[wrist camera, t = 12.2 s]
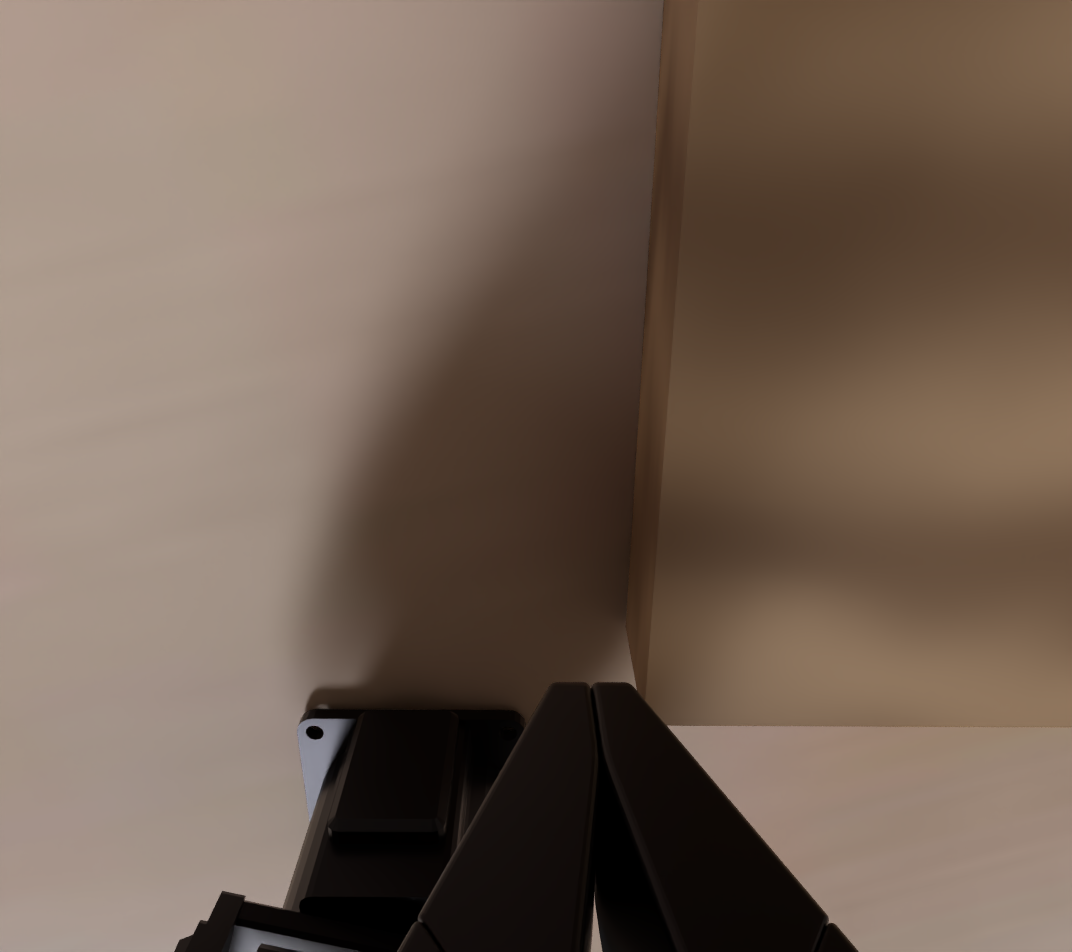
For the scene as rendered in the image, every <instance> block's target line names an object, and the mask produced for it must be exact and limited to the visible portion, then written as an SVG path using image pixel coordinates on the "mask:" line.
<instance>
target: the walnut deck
mask: <svg viewBox="0 0 1072 952" xmlns="http://www.w3.org/2000/svg"><path fill="white" fill-rule="evenodd" d="M626 631H627V636H628V642H629V648H630V653H631V659H632V664H633V670H634V676H635V681H636V687H637V691H638V693H639V694H640V695H641V696H642V697H643V699H644V700H645V701H646V702H647V703H648V704H649V706H650V707H651V708H652V709H653V710H654V712H655V713H656V714H657V715H658V716H659V717H660V719H661V720H662V721H663V722H664V723H665V724H666V725H671V726H879V727H1072V0H664V9H663V25H662V42H661V58H660V74H659V91H658V107H657V123H656V140H655V156H654V172H653V189H652V205H651V221H650V238H649V254H648V270H647V287H646V303H645V319H644V336H643V352H642V368H641V385H640V401H639V417H638V434H637V450H636V466H635V483H634V499H633V515H632V532H631V548H630V565H629V581H628V597H627V614H626Z"/></svg>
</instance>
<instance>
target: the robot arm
mask: <svg viewBox="0 0 1072 952" xmlns="http://www.w3.org/2000/svg"><path fill="white" fill-rule="evenodd" d="M311 726H318V727H320V728H321V729H322V730H315V729H313V728H312V727H311ZM503 727H513V728H514V730H512V731H505V730H503V729H502V728H503ZM297 735H298V742H299V749H300V756H301V764H302V771H303V778H304V785H305V792H306V799H307V806H308V813H309V820H310V824H309V827H308V830H307V833H306V837H305V840H304V843H303V846H302V849H301V852H300V855H299V858H298V862H297V865H296V868H295V871H294V874H293V877H292V880H291V884H290V887H289V890H288V893H287V896H286V899H285V902H284V906H283V908H278V907H273V906H269V905H264V904H259V903H255V902H250V901H245V897H246V896H244V895H239V894H234V893H230V892H225V891H222V893H221V895H220V897H219V899H218V901H217V903H216V905H215V907H214V909H213V911H212V914H211V916H210V918H209V920H208V921H203V920H200V922H199V924H198V926H197V928H196V930H195V932H194V934H193V935H191V936H189V937H186V938H184V939H181V940H179V942H178V945H177V947H176V949H175V951H174V952H591V942H592V928H593V907H594V892H595V905H596V912H597V919H598V926H599V933H600V939H601V945H602V951H603V952H858V950H857V949H856V948H855V947H854V946H853V944H852V943H851V942H850V941H849V940H848V939H847V937H846V936H845V935H844V934H843V933H842V931H841V930H840V929H839V928H838V927H837V926H836V925H835V924H834V923H829V924H828V922H829V918H828V916H827V914H826V913H825V912H824V911H823V910H822V908H821V907H820V906H819V905H818V904H817V902H816V901H815V900H814V899H813V898H812V897H811V895H810V894H809V893H808V892H807V891H806V889H805V888H804V887H803V886H802V885H801V884H800V882H799V881H798V880H797V879H796V878H795V877H794V875H793V874H792V873H791V872H790V871H789V869H788V868H787V867H786V866H785V865H784V864H783V862H782V861H781V860H780V859H779V858H778V856H777V855H776V854H775V853H774V852H773V851H772V849H771V848H770V847H769V846H768V845H767V844H766V842H765V841H764V840H763V839H762V838H761V836H760V835H759V834H758V833H757V832H756V831H755V829H754V828H753V827H752V826H751V825H750V823H749V822H748V821H747V820H746V819H745V818H744V816H743V815H742V814H741V813H740V812H739V811H738V809H737V808H736V807H735V806H734V805H733V803H732V802H731V801H730V800H729V799H728V798H727V796H726V795H725V794H724V793H723V792H722V790H721V789H720V788H719V787H718V786H717V785H716V783H715V782H714V781H713V780H712V779H711V778H710V776H709V775H708V774H707V773H706V772H705V770H704V769H703V768H702V767H701V766H700V765H699V763H698V762H697V761H696V760H695V759H694V757H693V756H692V755H691V754H690V753H689V752H688V750H687V749H686V748H685V747H684V746H683V745H682V743H681V742H680V741H679V740H678V739H677V737H676V736H675V735H674V734H673V733H672V732H671V730H670V729H669V728H668V727H667V726H666V724H665V723H664V722H663V721H662V720H661V719H660V717H659V716H658V715H657V714H656V713H655V712H654V710H653V709H652V708H651V707H650V706H649V704H648V703H647V702H646V701H645V700H644V699H643V697H642V696H641V695H640V694H639V693H638V691H637V690H636V689H635V688H634V687H633V686H632V685H631V684H629V683H626V682H597V683H594V684H593V685H592V687H591V688H590V686H589V685H588V684H587V683H585V682H554V683H552V684H551V685H550V686H549V687H548V689H547V691H546V692H545V694H544V696H543V698H542V699H541V701H540V703H539V705H538V706H537V708H536V710H535V712H534V713H533V715H532V717H531V719H530V720H529V722H528V724H527V726H526V723H525V719H524V718H523V717H522V715H521V714H519V713H517V712H515V711H510V710H346V709H315V710H310V711H308V712H306V713H305V714H304V715H303V716H302V718H301V720H300V723H299V725H298V730H297Z"/></svg>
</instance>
